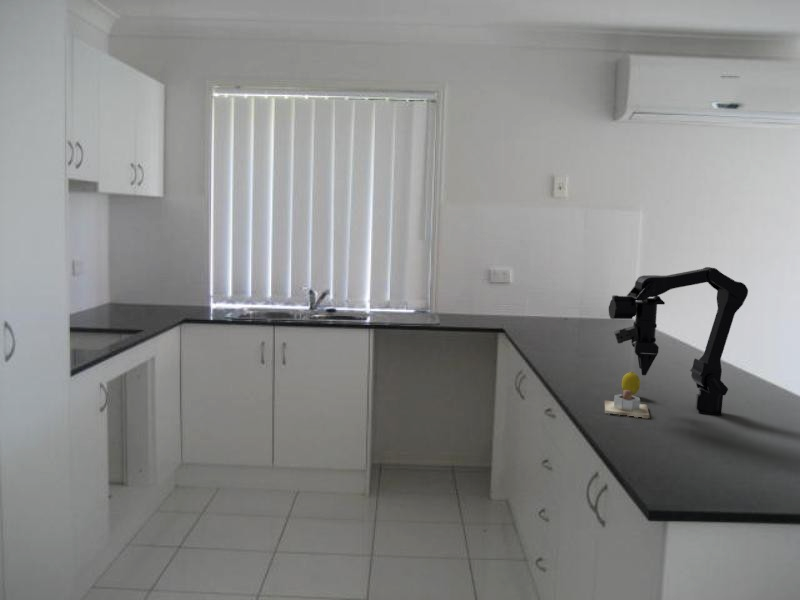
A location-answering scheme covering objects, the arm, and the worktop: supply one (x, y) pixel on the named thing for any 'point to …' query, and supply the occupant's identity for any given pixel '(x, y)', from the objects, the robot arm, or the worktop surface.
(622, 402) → the ring
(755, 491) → the worktop surface
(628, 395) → the post stand
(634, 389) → the lemon
